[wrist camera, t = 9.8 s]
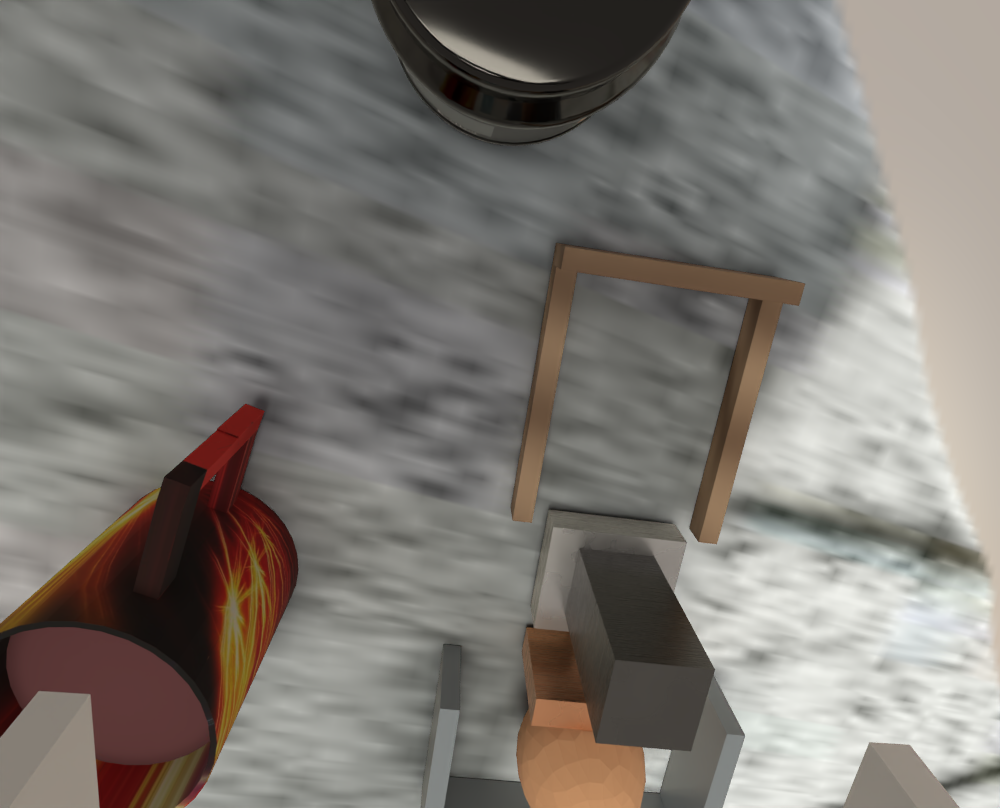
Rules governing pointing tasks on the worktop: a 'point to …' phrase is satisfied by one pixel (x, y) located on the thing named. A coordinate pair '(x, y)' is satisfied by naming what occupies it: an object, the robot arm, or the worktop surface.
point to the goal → (502, 804)
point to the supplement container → (525, 59)
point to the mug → (161, 624)
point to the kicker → (614, 634)
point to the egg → (577, 769)
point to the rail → (740, 386)
